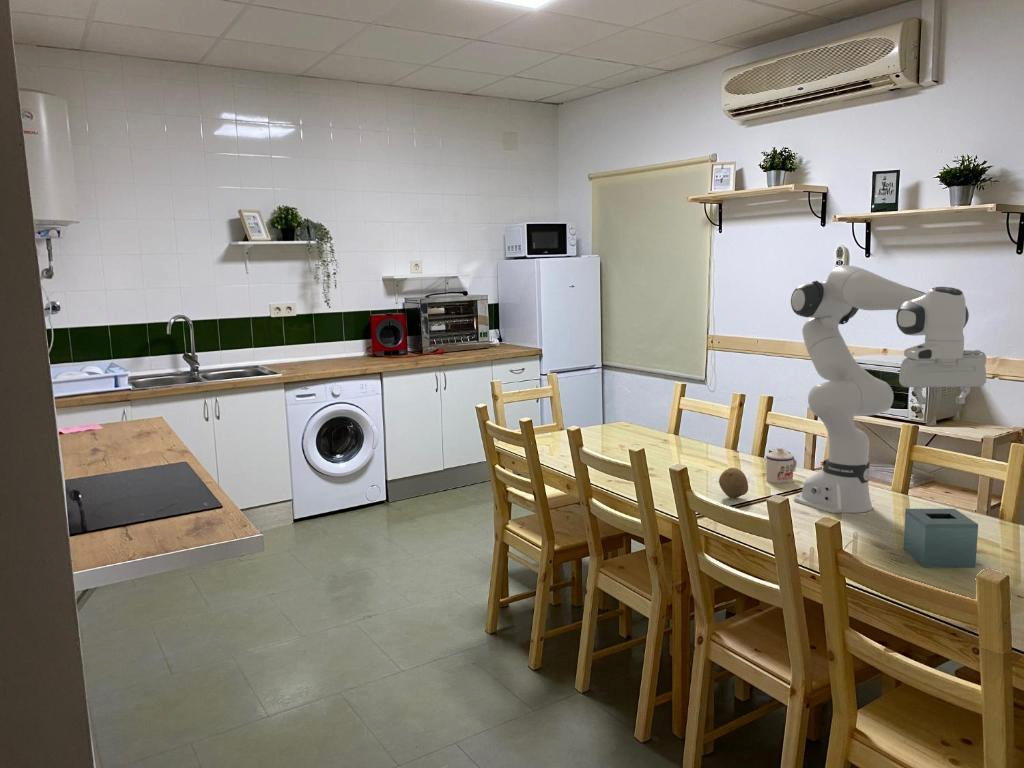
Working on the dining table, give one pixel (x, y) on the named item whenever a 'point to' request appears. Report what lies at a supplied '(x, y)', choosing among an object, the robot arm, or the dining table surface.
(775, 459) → the teacup with lid
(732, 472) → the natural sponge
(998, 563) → the dining table surface
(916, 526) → the blue-gray slotted box
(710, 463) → the dining table surface
